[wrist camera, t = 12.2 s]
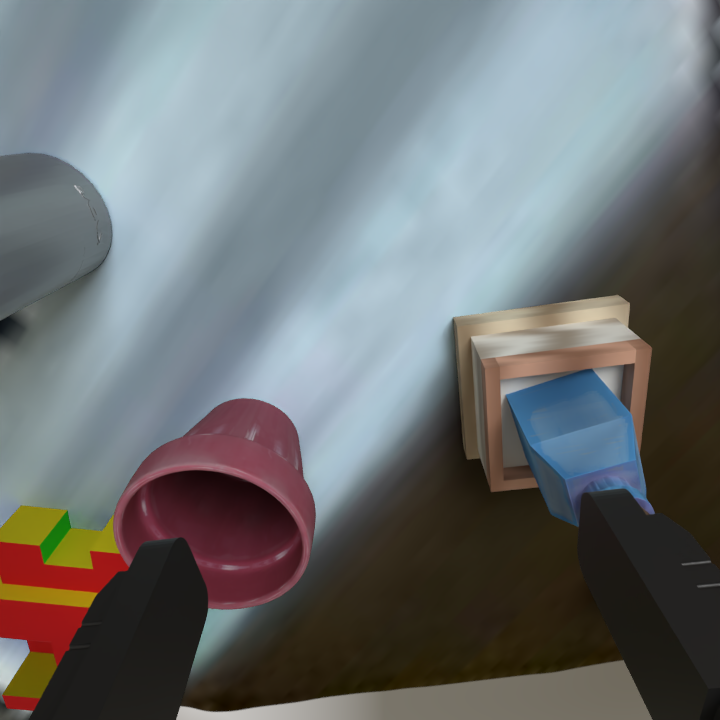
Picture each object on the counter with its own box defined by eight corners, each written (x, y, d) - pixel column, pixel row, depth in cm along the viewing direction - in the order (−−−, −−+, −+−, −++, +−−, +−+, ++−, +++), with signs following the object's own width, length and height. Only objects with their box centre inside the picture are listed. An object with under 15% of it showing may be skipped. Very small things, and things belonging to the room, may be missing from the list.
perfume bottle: (590, 367, 35) (687, 478, 24) (605, 434, 37) (699, 562, 27) (505, 394, 36) (561, 512, 25) (525, 457, 38) (584, 589, 28)
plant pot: (343, 484, 48) (334, 599, 36) (210, 507, 50) (161, 624, 38) (301, 357, 42) (273, 447, 30) (151, 389, 44) (71, 485, 32)
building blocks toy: (182, 519, 51) (91, 710, 35) (191, 665, 62) (126, 862, 46) (-1, 501, 50) (-181, 685, 34) (42, 651, 61) (-79, 845, 45)
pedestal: (463, 446, 45) (478, 502, 39) (453, 317, 40) (469, 357, 33) (607, 430, 44) (649, 485, 38) (618, 295, 39) (669, 332, 32)
